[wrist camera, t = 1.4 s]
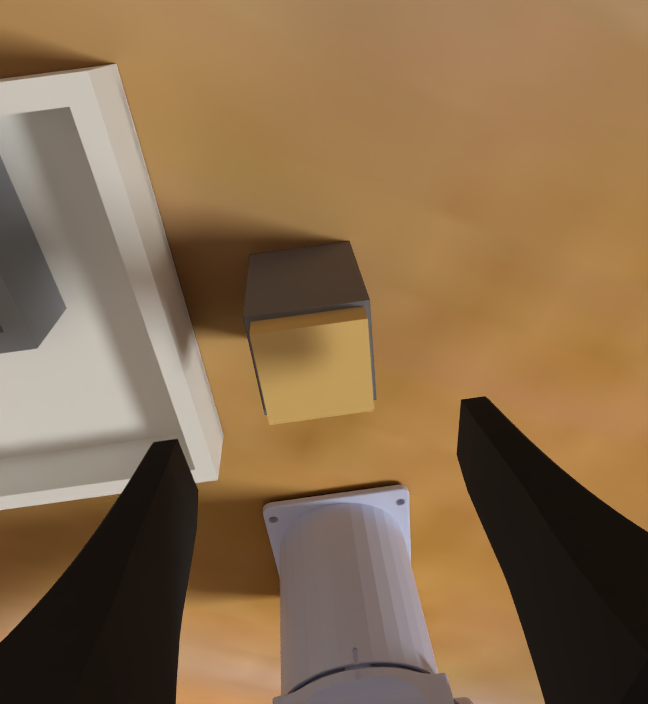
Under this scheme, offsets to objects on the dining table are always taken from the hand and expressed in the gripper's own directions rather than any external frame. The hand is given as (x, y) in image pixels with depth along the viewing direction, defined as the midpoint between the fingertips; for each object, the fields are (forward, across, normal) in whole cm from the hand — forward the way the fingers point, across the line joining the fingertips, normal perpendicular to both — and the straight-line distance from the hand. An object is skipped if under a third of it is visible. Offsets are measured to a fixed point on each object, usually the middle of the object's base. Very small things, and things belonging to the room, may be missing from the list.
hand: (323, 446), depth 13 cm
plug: (+10, 0, +1) cm, 10 cm away
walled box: (+10, +13, 0) cm, 16 cm away
